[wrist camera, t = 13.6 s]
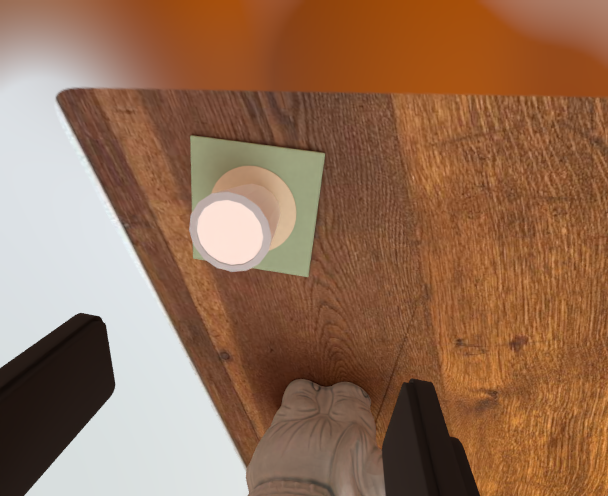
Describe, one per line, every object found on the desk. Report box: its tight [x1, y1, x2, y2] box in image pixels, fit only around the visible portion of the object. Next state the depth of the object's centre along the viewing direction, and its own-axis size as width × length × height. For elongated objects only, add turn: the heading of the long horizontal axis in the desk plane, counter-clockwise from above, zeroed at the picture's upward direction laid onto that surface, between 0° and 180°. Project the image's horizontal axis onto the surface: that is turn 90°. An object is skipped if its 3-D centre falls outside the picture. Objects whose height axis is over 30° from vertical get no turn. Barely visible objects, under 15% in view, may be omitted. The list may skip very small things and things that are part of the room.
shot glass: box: [189, 184, 281, 272], centre depth 28 cm, size 7×7×7 cm
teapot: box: [246, 379, 386, 496], centre depth 32 cm, size 16×15×19 cm
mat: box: [190, 135, 325, 277], centre depth 32 cm, size 13×13×1 cm
